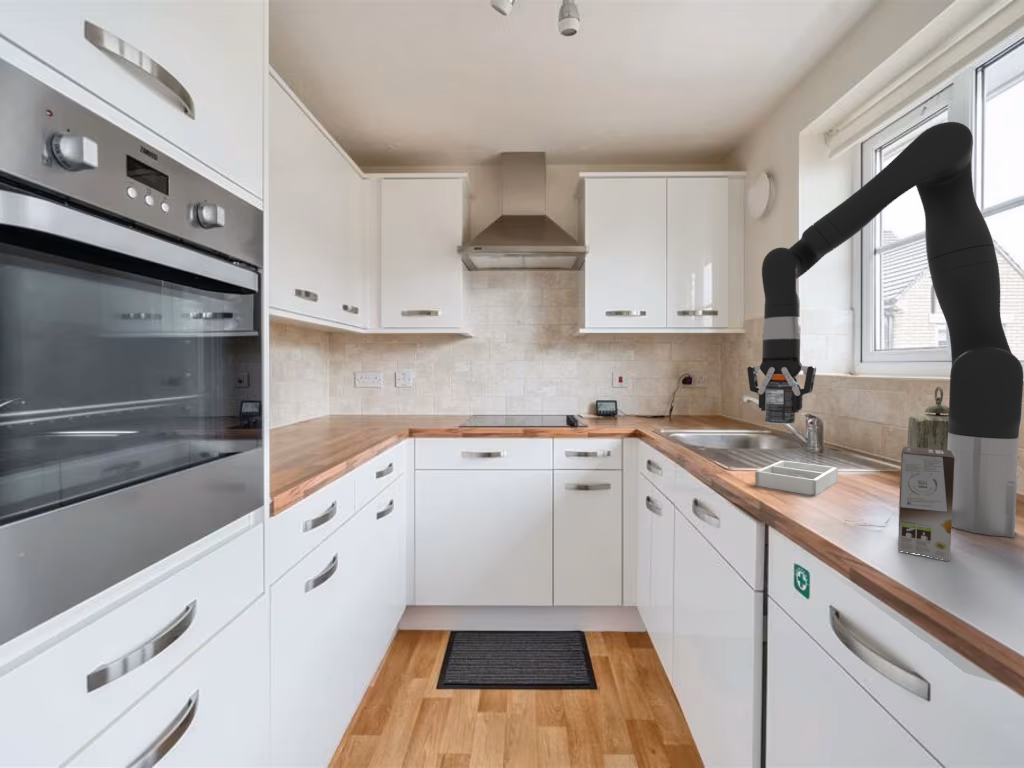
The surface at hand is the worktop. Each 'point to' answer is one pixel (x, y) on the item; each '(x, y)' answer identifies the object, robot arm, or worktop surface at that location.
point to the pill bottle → (779, 401)
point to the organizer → (812, 484)
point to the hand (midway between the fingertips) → (779, 411)
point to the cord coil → (792, 475)
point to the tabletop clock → (930, 426)
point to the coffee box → (926, 502)
